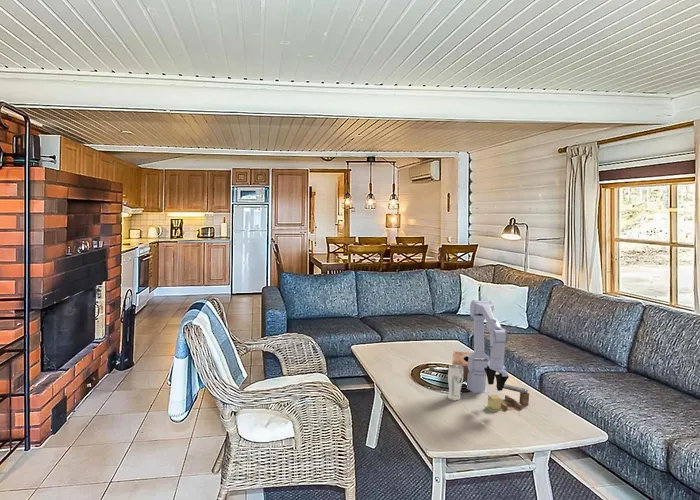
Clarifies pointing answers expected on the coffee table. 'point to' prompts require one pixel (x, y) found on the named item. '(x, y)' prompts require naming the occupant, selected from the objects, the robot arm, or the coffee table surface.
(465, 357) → the tissue box cover
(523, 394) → the body
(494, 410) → the pad
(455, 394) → the beer glass
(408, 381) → the coffee table surface
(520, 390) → the lever
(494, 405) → the tan cube
